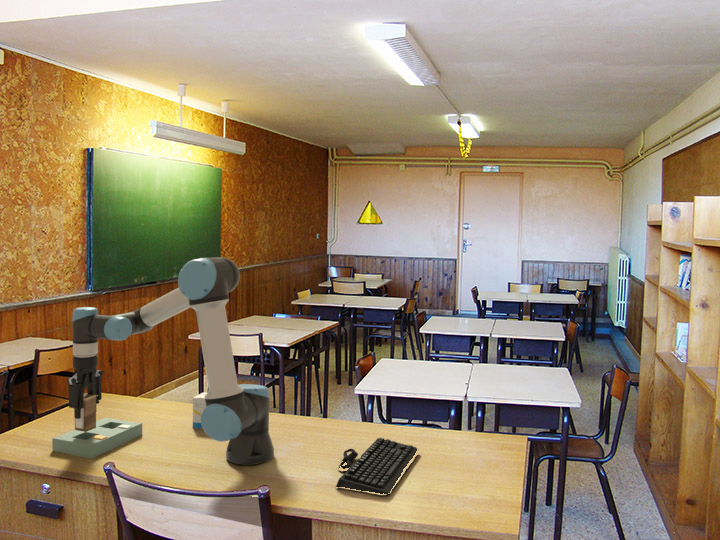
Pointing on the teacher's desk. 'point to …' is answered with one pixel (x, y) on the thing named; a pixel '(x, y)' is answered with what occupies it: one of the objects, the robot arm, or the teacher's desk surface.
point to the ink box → (198, 409)
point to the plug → (88, 412)
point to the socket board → (96, 445)
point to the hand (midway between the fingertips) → (85, 425)
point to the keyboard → (376, 466)
